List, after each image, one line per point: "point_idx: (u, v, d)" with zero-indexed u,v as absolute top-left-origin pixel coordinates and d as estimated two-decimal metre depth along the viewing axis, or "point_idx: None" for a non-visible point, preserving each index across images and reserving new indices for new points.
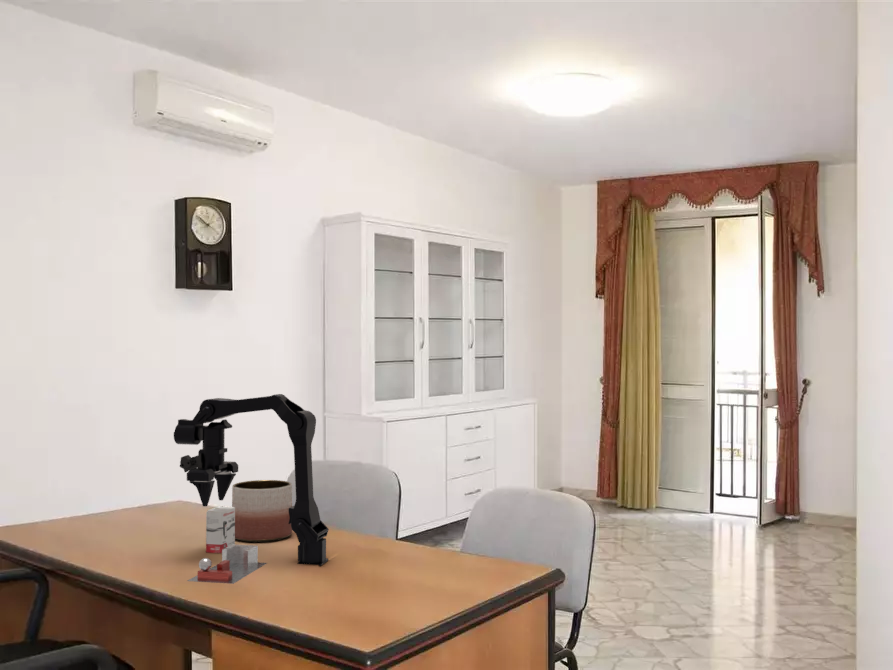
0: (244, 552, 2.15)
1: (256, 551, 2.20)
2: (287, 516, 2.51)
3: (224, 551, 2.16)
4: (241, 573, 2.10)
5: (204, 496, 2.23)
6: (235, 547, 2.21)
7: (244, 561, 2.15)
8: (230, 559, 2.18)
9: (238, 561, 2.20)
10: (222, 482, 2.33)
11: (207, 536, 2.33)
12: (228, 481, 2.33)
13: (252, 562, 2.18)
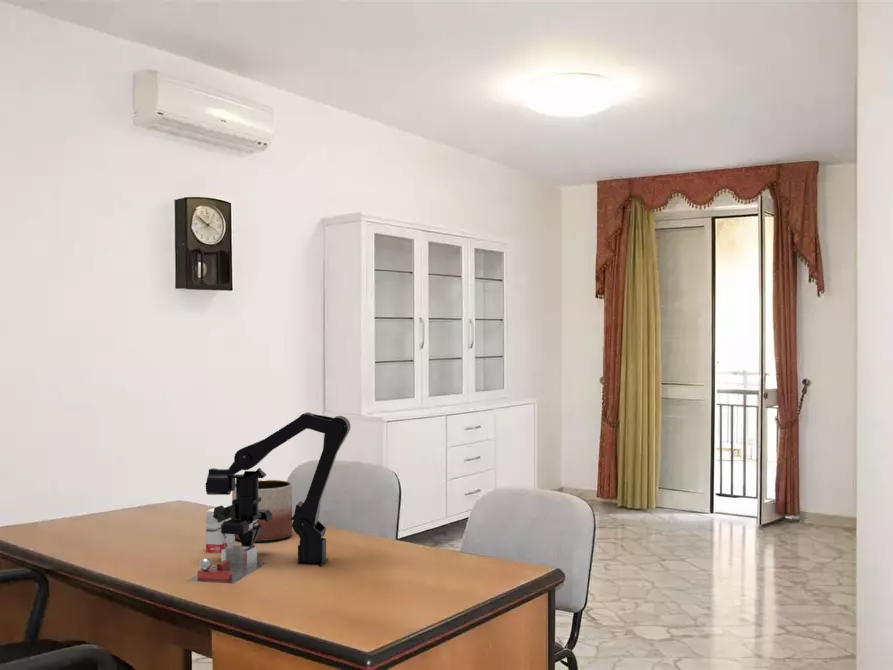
0: (243, 552, 2.15)
1: (255, 551, 2.20)
2: (287, 516, 2.51)
3: (223, 551, 2.16)
4: (241, 573, 2.10)
5: (246, 544, 2.22)
6: (234, 547, 2.20)
7: (243, 561, 2.15)
8: (229, 559, 2.18)
9: (237, 561, 2.20)
10: None
11: (207, 536, 2.33)
12: (255, 534, 2.23)
13: (251, 563, 2.17)
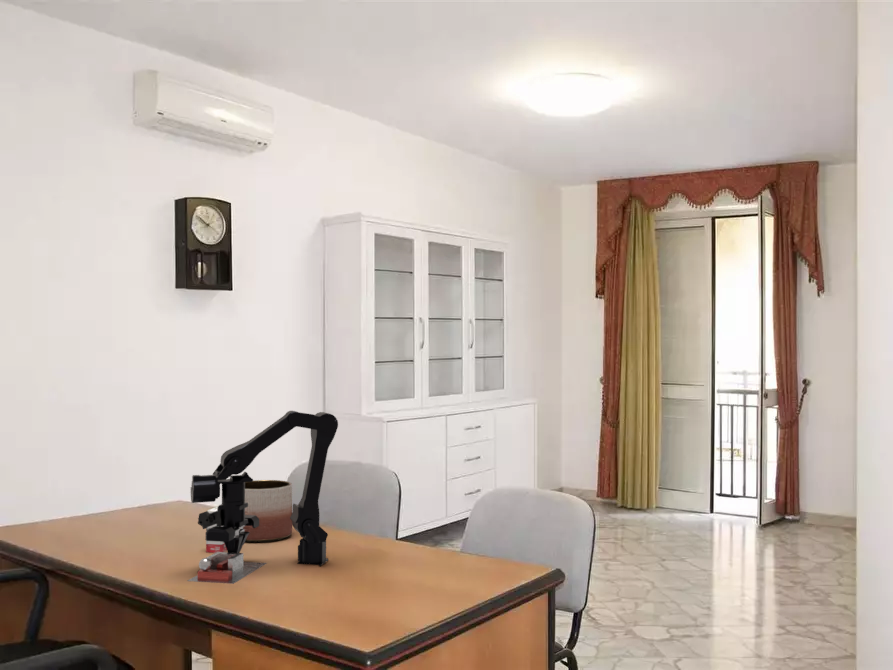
0: (229, 560, 2.07)
1: (242, 559, 2.12)
2: (287, 516, 2.51)
3: None
4: (241, 573, 2.10)
5: (232, 552, 2.14)
6: (220, 555, 2.12)
7: (229, 570, 2.07)
8: (214, 567, 2.10)
9: None
10: None
11: None
12: None
13: (237, 571, 2.09)
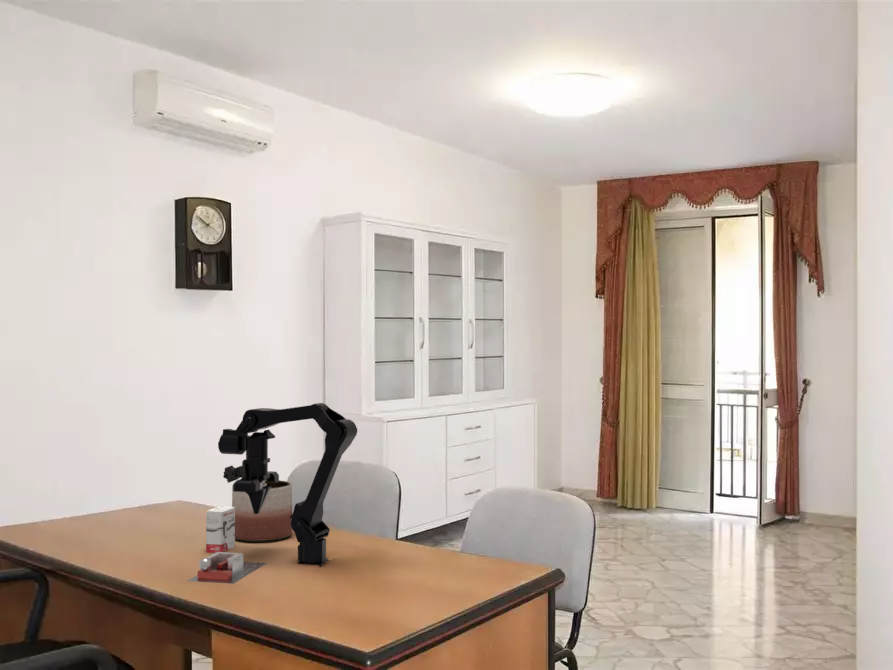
0: (229, 560, 2.07)
1: (242, 559, 2.12)
2: (287, 516, 2.51)
3: None
4: (241, 573, 2.10)
5: (256, 504, 2.27)
6: (220, 555, 2.12)
7: (229, 570, 2.07)
8: (214, 567, 2.10)
9: None
10: None
11: (207, 536, 2.33)
12: (264, 494, 2.28)
13: (237, 571, 2.09)
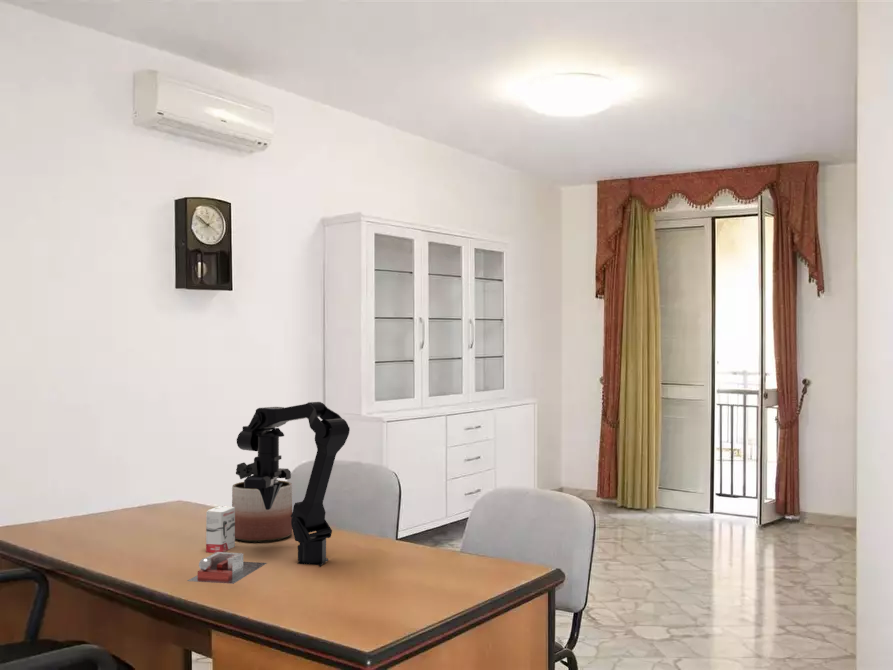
0: (229, 560, 2.07)
1: (242, 559, 2.12)
2: (287, 516, 2.51)
3: None
4: (241, 573, 2.10)
5: (267, 500, 2.33)
6: (220, 555, 2.12)
7: (229, 570, 2.07)
8: (214, 567, 2.10)
9: None
10: None
11: (207, 536, 2.33)
12: None
13: (237, 571, 2.09)
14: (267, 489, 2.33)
